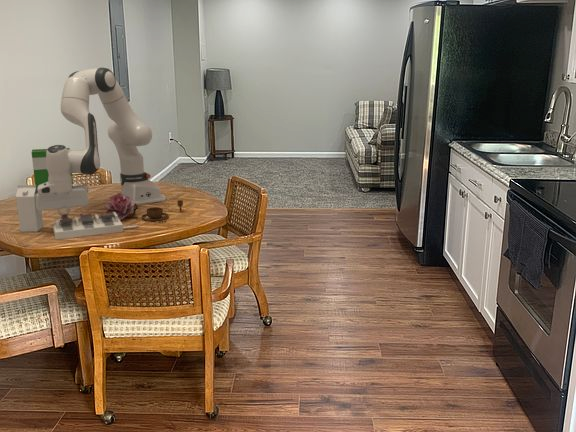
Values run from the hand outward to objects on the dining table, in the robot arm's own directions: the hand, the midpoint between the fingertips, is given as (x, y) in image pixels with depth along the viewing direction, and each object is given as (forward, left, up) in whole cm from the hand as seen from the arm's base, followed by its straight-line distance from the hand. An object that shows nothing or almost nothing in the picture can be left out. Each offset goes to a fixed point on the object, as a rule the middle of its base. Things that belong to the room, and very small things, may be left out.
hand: (64, 217), depth 235 cm
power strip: (-12, +6, -5) cm, 14 cm away
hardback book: (0, -64, -5) cm, 64 cm away
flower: (-24, -10, -5) cm, 27 cm away
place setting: (-42, -2, -6) cm, 42 cm away
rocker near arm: (-16, +4, -1) cm, 17 cm away
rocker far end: (0, +4, -1) cm, 5 cm away
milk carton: (+13, -6, -5) cm, 15 cm away
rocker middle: (-8, +4, -1) cm, 9 cm away
